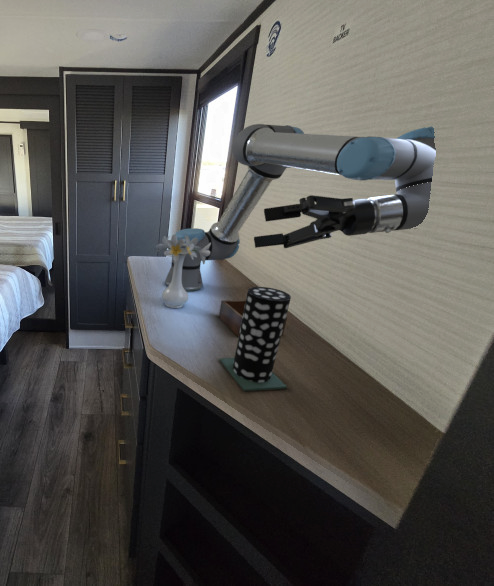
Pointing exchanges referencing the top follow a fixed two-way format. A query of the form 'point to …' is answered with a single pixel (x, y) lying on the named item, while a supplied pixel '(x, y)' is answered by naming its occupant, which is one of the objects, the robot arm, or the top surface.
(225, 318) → the crate
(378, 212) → the robot arm
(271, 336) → the white-spotted black cylinder
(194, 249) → the flower vase
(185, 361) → the top surface
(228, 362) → the mat
